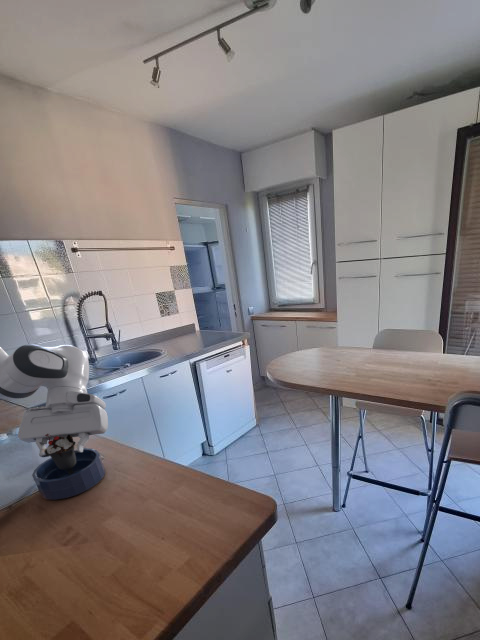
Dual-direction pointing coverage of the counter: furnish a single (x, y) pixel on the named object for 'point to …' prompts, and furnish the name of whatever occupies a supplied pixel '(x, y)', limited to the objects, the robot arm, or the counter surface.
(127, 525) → the counter surface
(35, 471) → the basin
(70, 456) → the sundae
